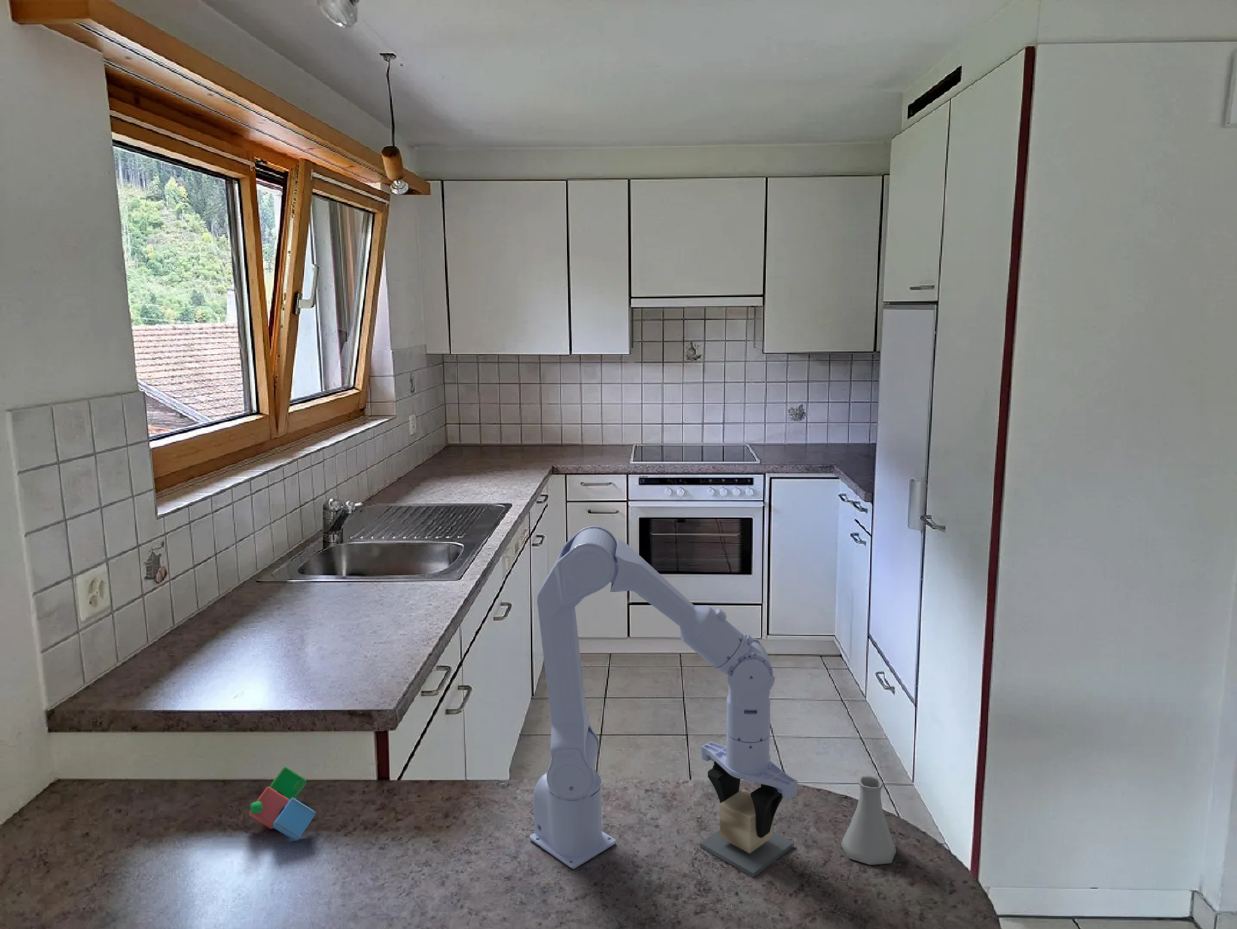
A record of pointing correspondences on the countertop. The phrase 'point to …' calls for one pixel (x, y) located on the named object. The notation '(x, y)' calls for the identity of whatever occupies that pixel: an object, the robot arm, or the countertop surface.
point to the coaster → (743, 859)
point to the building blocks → (283, 805)
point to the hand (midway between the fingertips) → (746, 825)
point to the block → (740, 822)
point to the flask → (869, 827)
